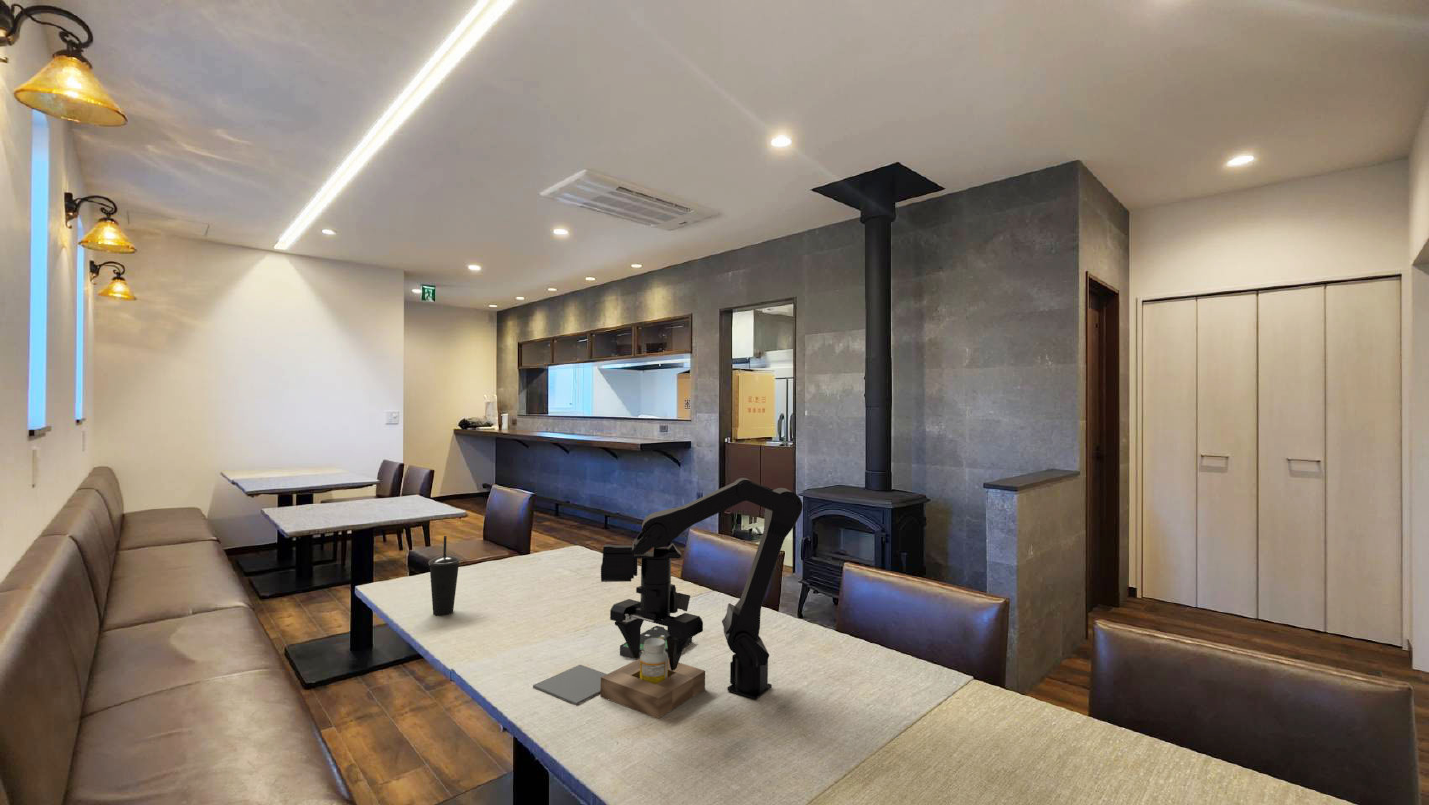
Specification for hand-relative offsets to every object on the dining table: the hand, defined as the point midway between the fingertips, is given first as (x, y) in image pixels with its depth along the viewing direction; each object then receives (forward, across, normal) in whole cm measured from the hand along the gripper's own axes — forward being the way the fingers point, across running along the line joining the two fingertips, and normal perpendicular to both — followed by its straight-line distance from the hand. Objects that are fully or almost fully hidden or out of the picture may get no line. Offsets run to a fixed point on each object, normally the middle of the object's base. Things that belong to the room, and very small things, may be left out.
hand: (654, 663), depth 112 cm
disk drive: (+6, +14, -17) cm, 23 cm away
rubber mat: (+5, +14, +6) cm, 16 cm away
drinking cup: (+6, +74, -2) cm, 74 cm away
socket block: (+5, 0, 0) cm, 5 cm away
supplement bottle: (+6, 0, 0) cm, 6 cm away
